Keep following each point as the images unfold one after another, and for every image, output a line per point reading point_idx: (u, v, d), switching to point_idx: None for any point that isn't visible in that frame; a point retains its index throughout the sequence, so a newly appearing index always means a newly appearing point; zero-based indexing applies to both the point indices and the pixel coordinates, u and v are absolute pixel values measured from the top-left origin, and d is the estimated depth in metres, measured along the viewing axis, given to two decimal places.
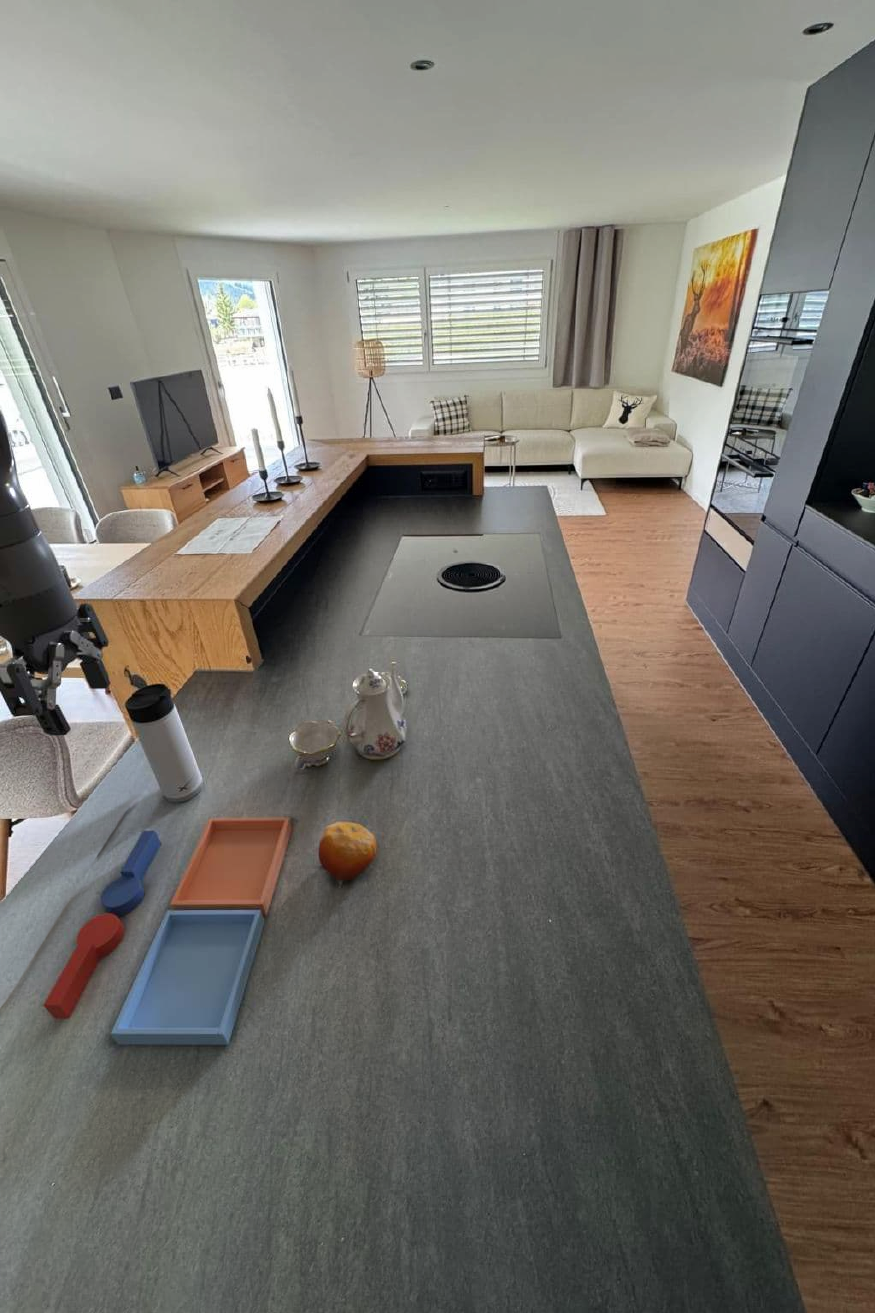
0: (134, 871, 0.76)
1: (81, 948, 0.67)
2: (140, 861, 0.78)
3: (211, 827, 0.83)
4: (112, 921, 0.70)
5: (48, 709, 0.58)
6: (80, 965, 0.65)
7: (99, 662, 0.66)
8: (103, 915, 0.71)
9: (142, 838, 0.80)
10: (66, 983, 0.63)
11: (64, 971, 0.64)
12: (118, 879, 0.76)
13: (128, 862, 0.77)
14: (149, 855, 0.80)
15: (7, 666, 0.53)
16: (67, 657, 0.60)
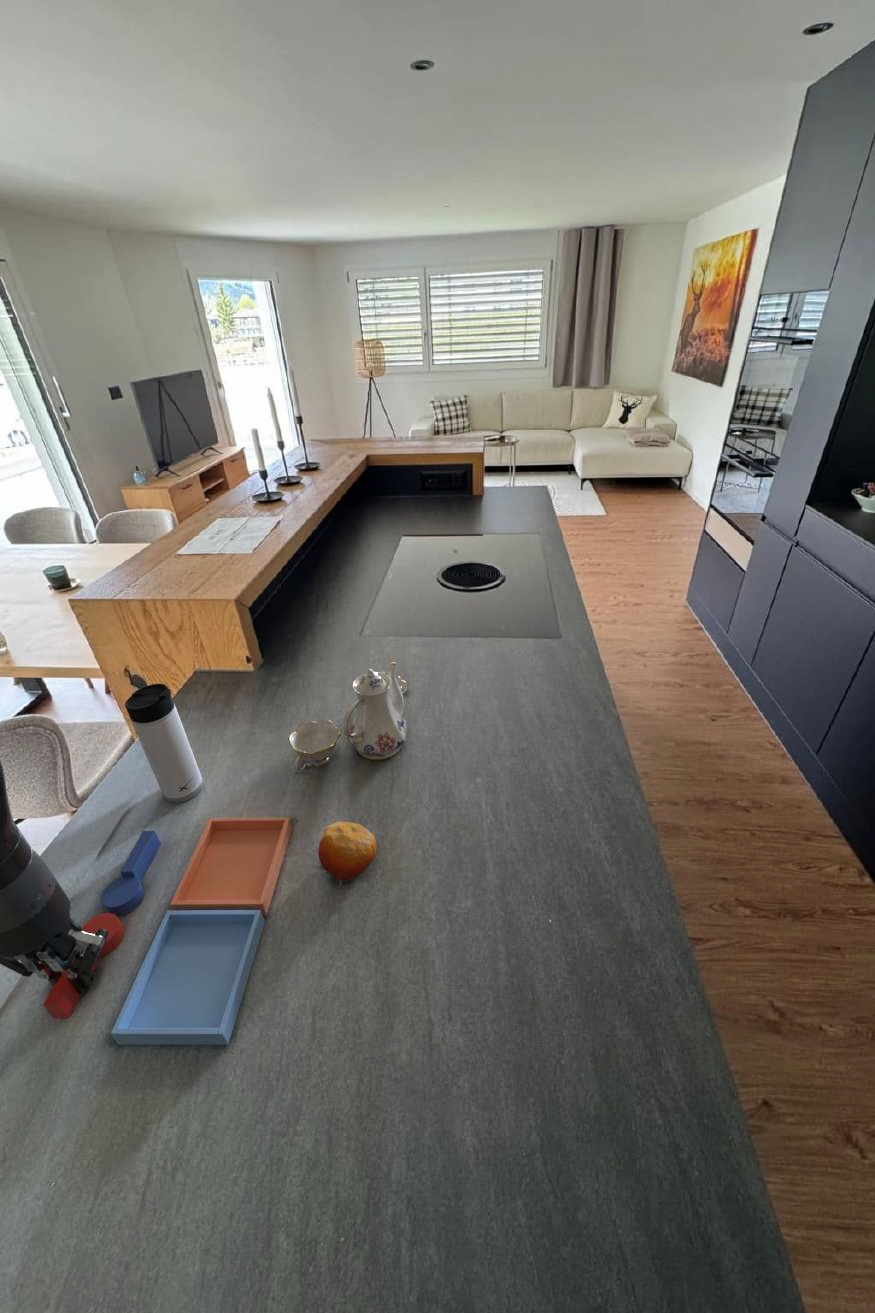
0: (134, 871, 0.76)
1: None
2: (140, 861, 0.78)
3: (211, 827, 0.83)
4: (112, 921, 0.70)
5: None
6: None
7: (70, 979, 0.63)
8: (103, 915, 0.71)
9: (142, 838, 0.80)
10: (66, 983, 0.63)
11: None
12: (118, 879, 0.76)
13: (128, 862, 0.77)
14: (149, 855, 0.80)
15: None
16: None
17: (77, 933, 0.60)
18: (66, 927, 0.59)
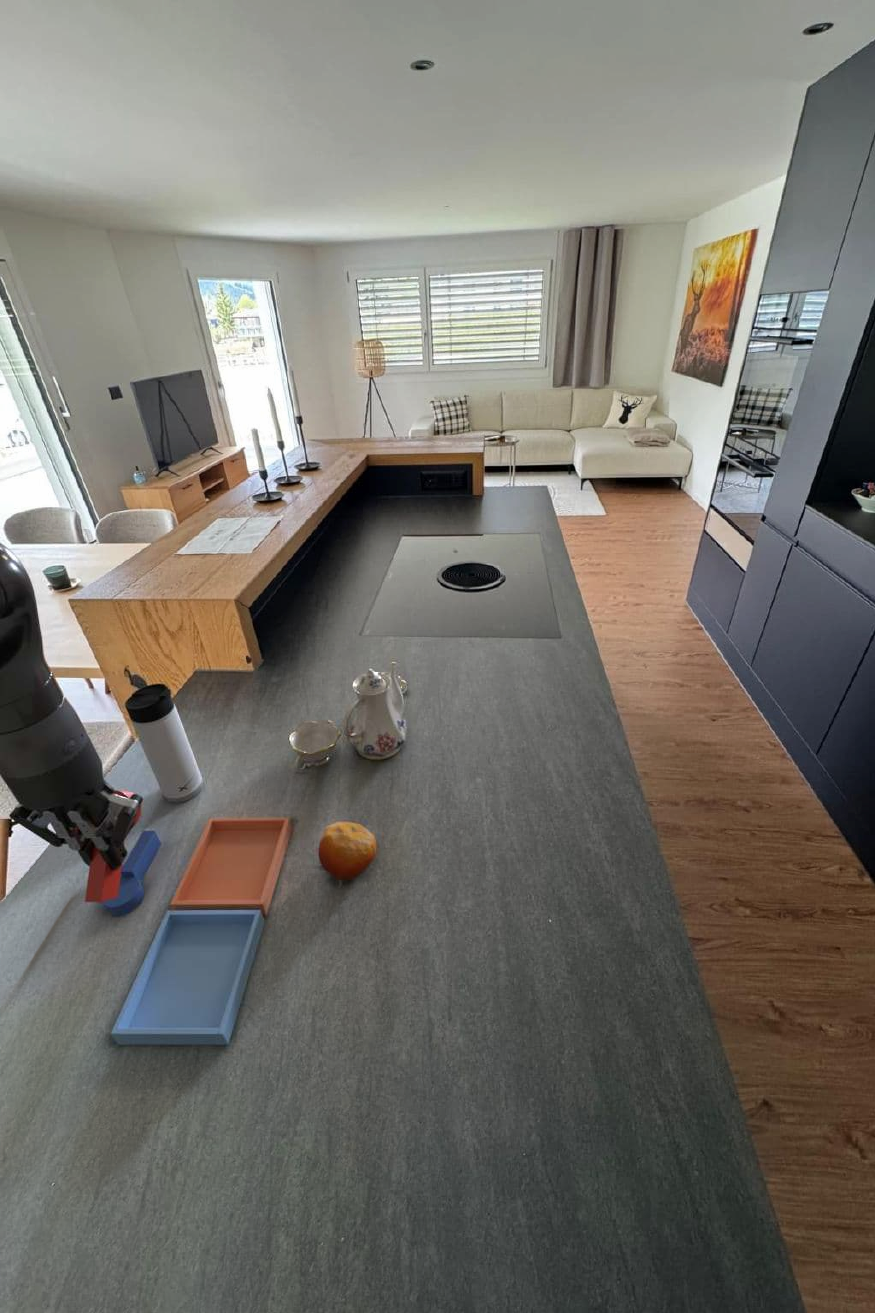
0: (134, 871, 0.76)
1: None
2: (140, 861, 0.78)
3: (211, 827, 0.83)
4: None
5: None
6: None
7: (102, 851, 0.59)
8: None
9: (142, 838, 0.80)
10: (99, 878, 0.60)
11: (91, 865, 0.60)
12: None
13: (128, 862, 0.77)
14: (149, 855, 0.80)
15: (14, 809, 0.57)
16: None
17: (110, 795, 0.56)
18: (99, 786, 0.55)
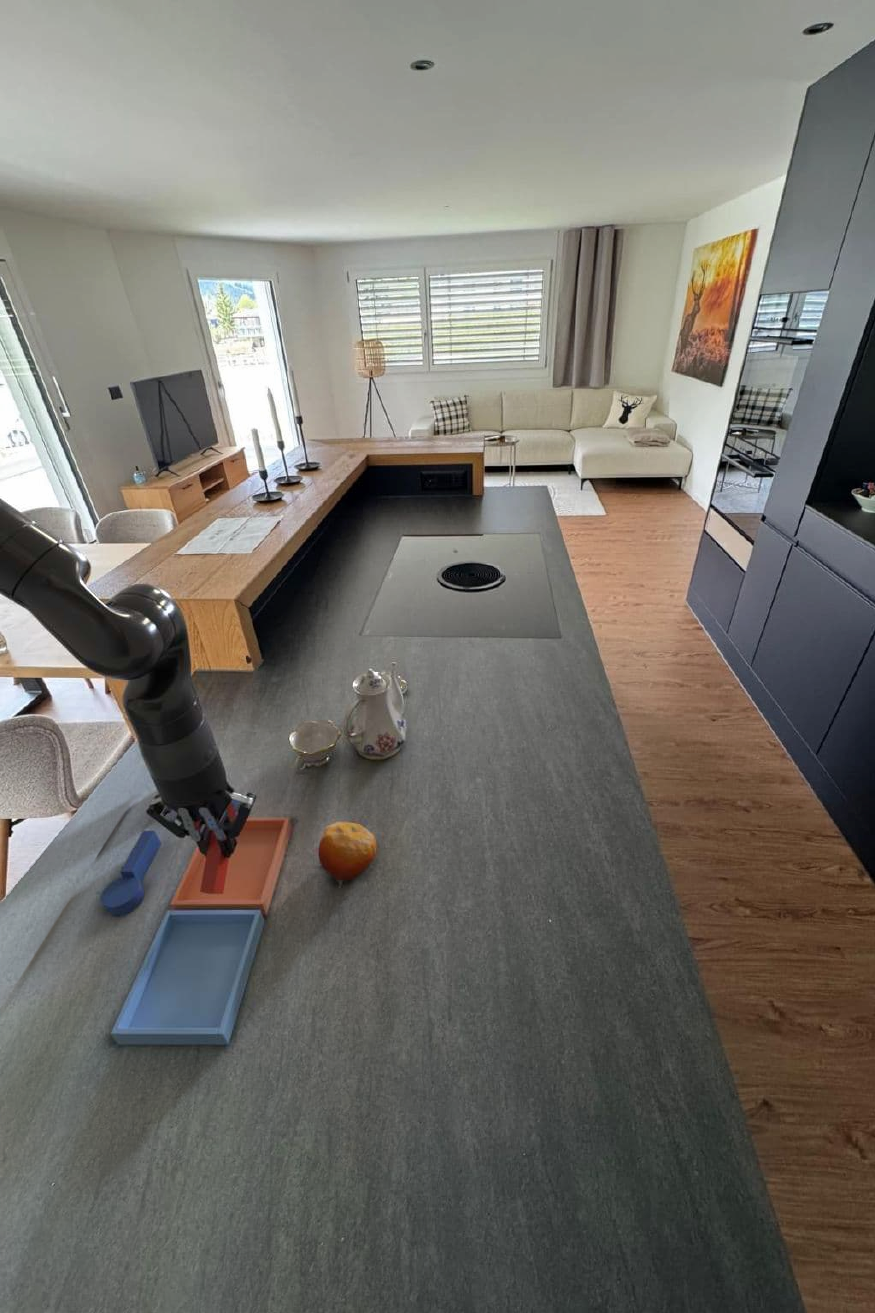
0: (134, 871, 0.76)
1: (215, 838, 0.72)
2: (140, 861, 0.78)
3: None
4: (233, 808, 0.74)
5: None
6: (219, 854, 0.71)
7: (220, 841, 0.70)
8: None
9: (142, 838, 0.80)
10: (213, 871, 0.70)
11: (207, 860, 0.70)
12: (118, 879, 0.76)
13: (128, 862, 0.77)
14: (149, 855, 0.80)
15: (149, 806, 0.68)
16: (201, 816, 0.68)
17: (232, 794, 0.67)
18: (224, 786, 0.66)
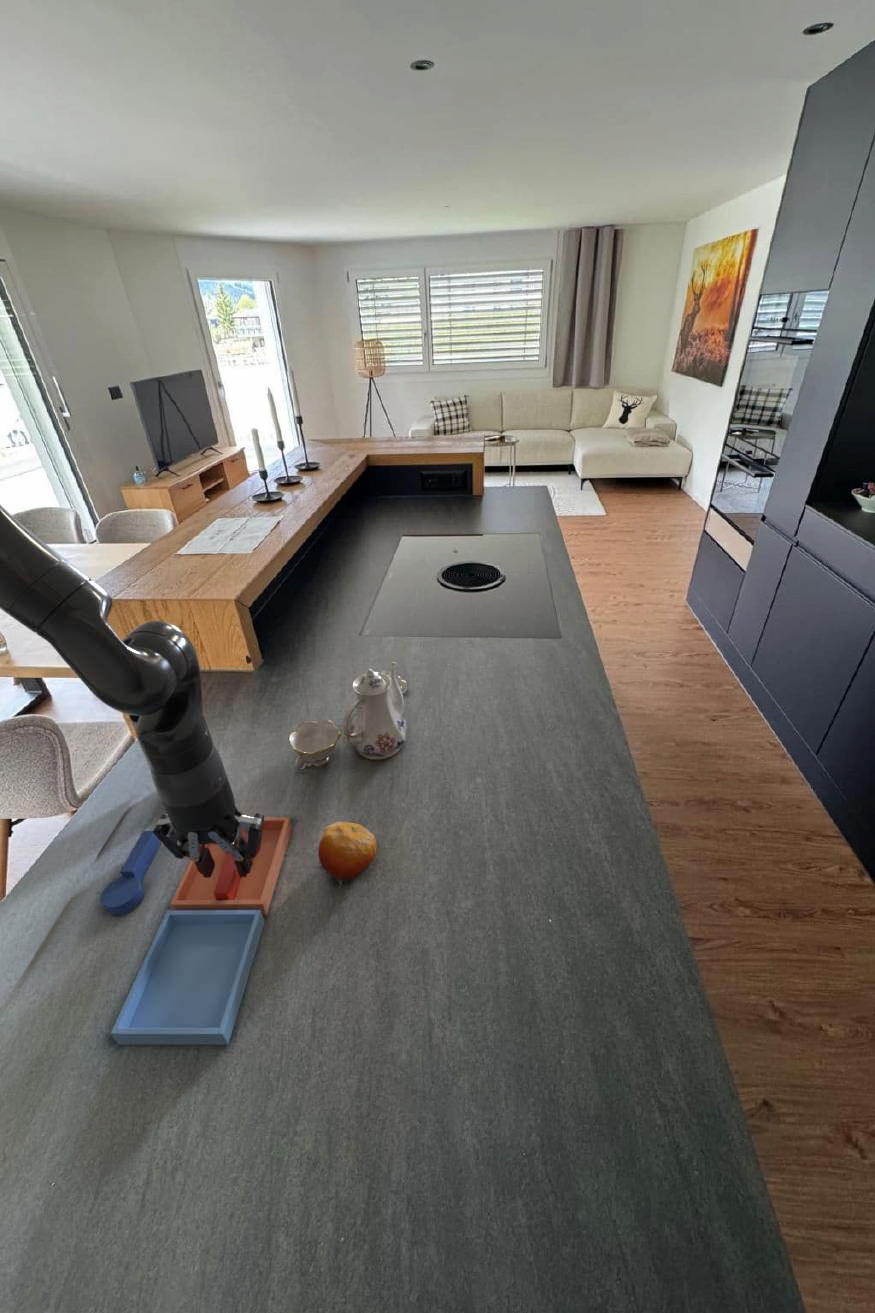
0: (134, 871, 0.76)
1: None
2: (140, 861, 0.78)
3: None
4: None
5: None
6: None
7: (237, 861, 0.72)
8: (242, 828, 0.82)
9: (142, 838, 0.80)
10: (228, 876, 0.74)
11: (223, 868, 0.75)
12: (118, 879, 0.76)
13: (128, 862, 0.77)
14: (149, 855, 0.80)
15: (156, 825, 0.70)
16: (210, 840, 0.70)
17: (240, 818, 0.70)
18: (233, 811, 0.68)
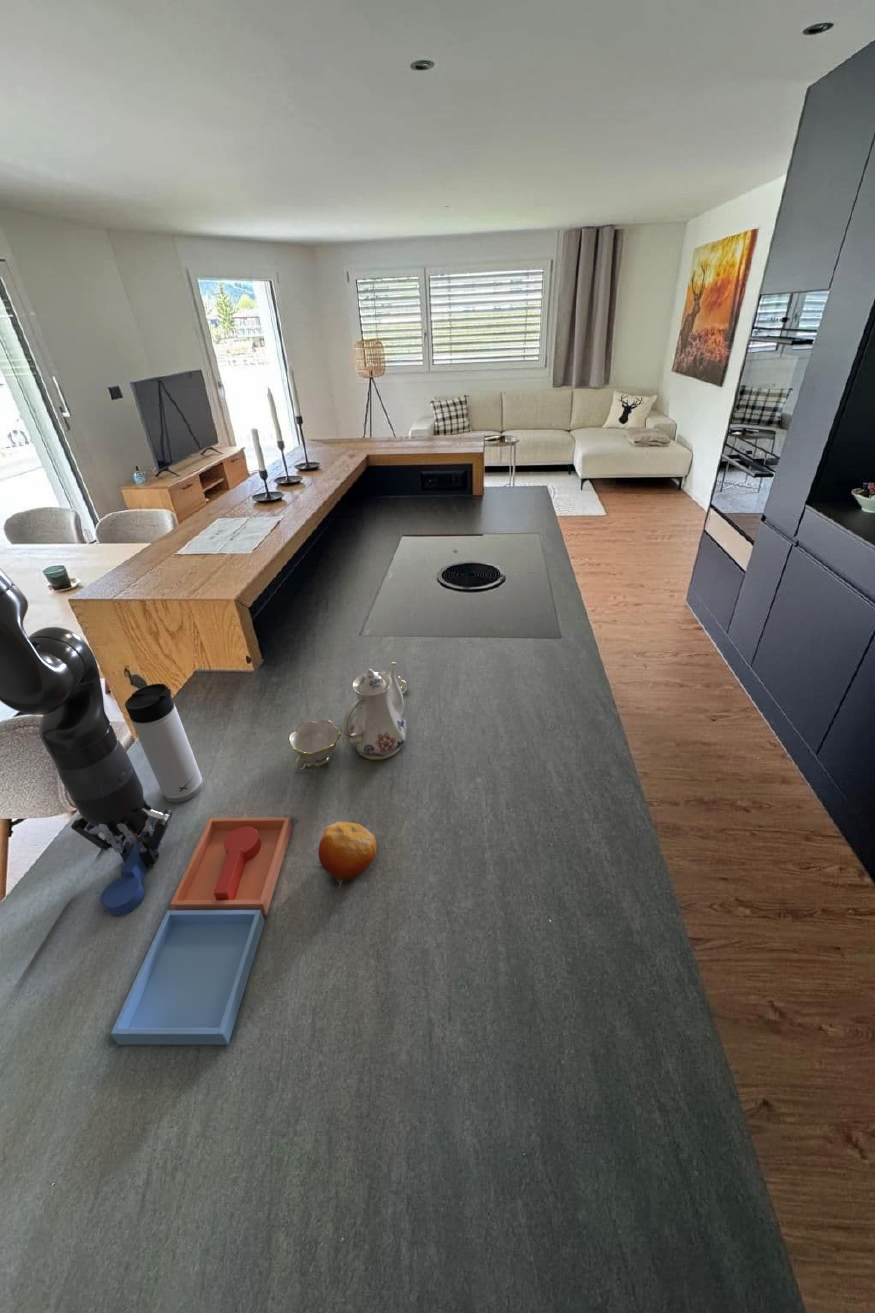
0: (134, 871, 0.76)
1: (233, 851, 0.77)
2: (141, 861, 0.78)
3: (211, 827, 0.83)
4: (251, 832, 0.81)
5: None
6: (235, 863, 0.75)
7: (141, 853, 0.77)
8: (242, 828, 0.82)
9: None
10: (228, 876, 0.74)
11: (223, 868, 0.75)
12: (118, 879, 0.76)
13: (128, 862, 0.77)
14: None
15: (74, 821, 0.75)
16: None
17: (148, 811, 0.74)
18: (141, 804, 0.73)
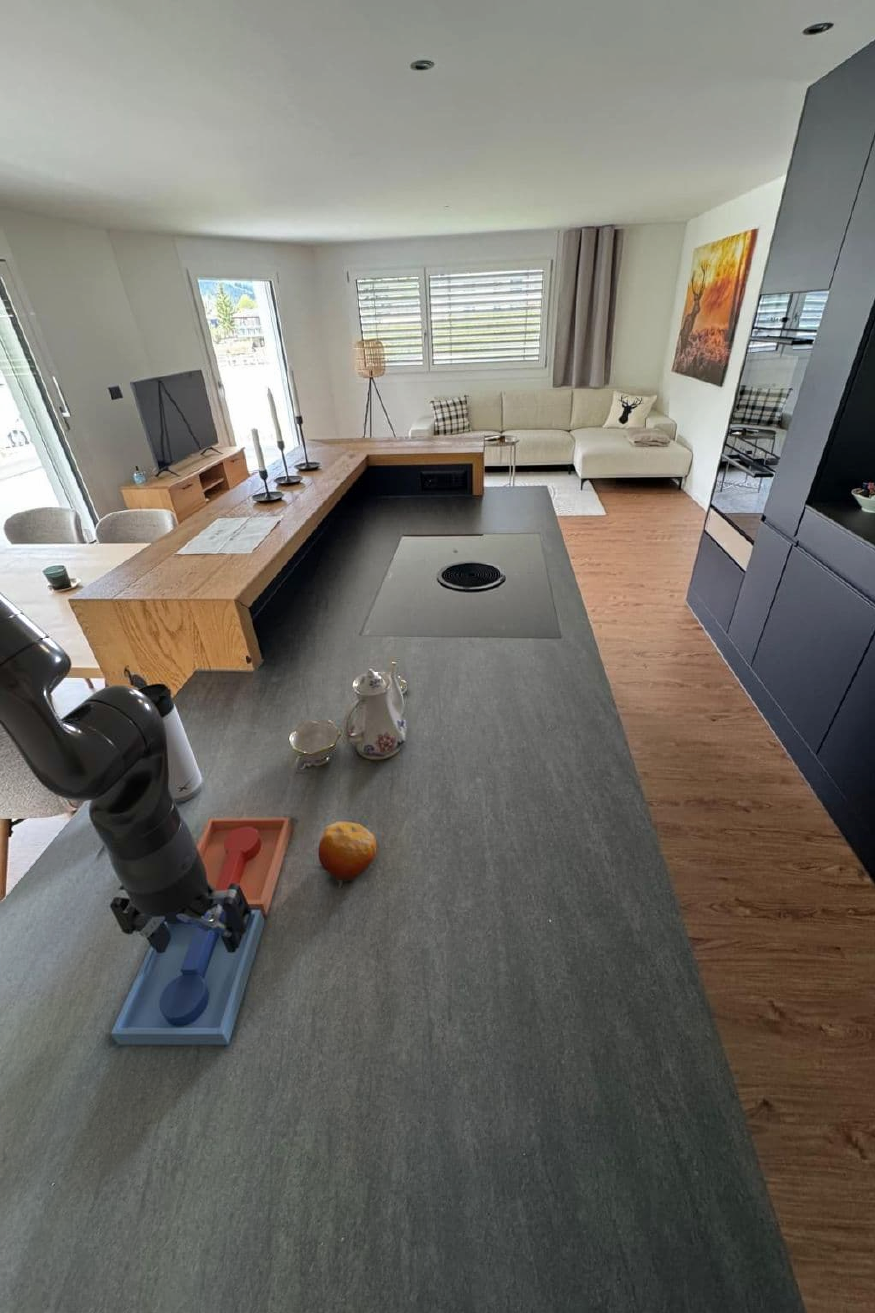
0: (197, 968, 0.64)
1: (233, 851, 0.77)
2: (203, 954, 0.66)
3: (211, 827, 0.83)
4: (251, 832, 0.81)
5: None
6: (235, 863, 0.75)
7: (224, 937, 0.64)
8: (242, 828, 0.82)
9: None
10: (228, 876, 0.74)
11: (223, 868, 0.75)
12: (178, 979, 0.64)
13: (189, 957, 0.65)
14: (211, 944, 0.68)
15: (115, 897, 0.61)
16: (180, 920, 0.62)
17: None
18: (205, 890, 0.61)
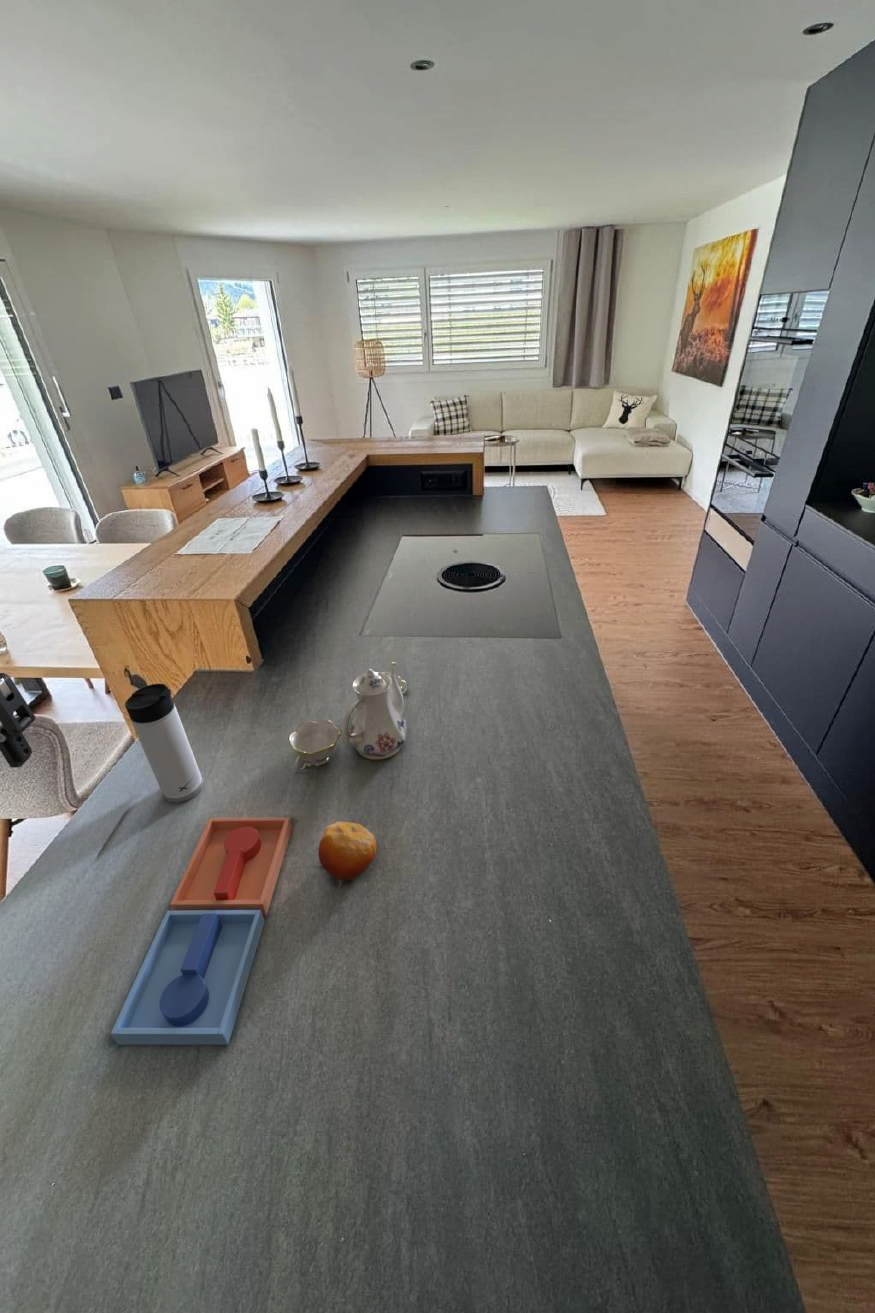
0: (197, 968, 0.64)
1: (233, 851, 0.77)
2: (203, 954, 0.66)
3: (211, 827, 0.83)
4: (251, 832, 0.81)
5: None
6: (235, 863, 0.75)
7: None
8: (242, 828, 0.82)
9: (202, 924, 0.68)
10: (228, 876, 0.74)
11: (223, 868, 0.75)
12: (178, 979, 0.64)
13: (189, 957, 0.65)
14: (211, 944, 0.68)
15: None
16: None
17: None
18: None
